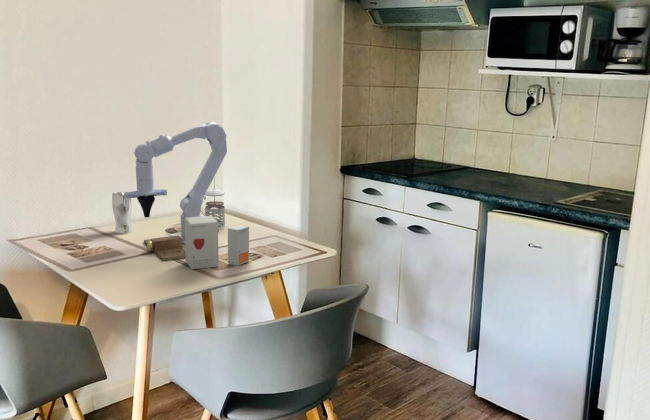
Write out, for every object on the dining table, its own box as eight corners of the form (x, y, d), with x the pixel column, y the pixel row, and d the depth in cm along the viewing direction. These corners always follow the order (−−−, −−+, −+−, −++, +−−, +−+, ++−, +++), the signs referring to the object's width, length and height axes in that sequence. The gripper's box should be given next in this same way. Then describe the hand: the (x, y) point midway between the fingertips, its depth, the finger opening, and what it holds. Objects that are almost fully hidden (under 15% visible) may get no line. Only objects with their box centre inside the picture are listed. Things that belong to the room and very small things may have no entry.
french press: (225, 230, 232) (224, 167, 226) (195, 229, 232) (193, 166, 227) (229, 224, 242) (228, 163, 236) (201, 223, 242) (199, 162, 236)
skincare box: (237, 266, 190) (237, 230, 187) (227, 263, 192) (227, 228, 189) (249, 261, 195) (249, 226, 192) (239, 259, 197) (239, 224, 194)
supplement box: (190, 270, 185) (189, 223, 182) (185, 261, 193) (183, 217, 190) (219, 267, 189) (218, 221, 185) (212, 258, 197) (211, 215, 193)
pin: (176, 246, 209) (176, 236, 209) (180, 248, 206) (179, 238, 206) (147, 250, 204) (146, 239, 203) (150, 252, 201) (149, 242, 200)
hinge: (170, 239, 218) (169, 228, 217) (191, 256, 198) (191, 245, 197) (143, 242, 213) (143, 231, 212) (163, 260, 193) (162, 249, 193)
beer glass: (136, 231, 228) (134, 193, 224) (122, 235, 222) (119, 196, 219) (124, 228, 231) (122, 190, 228) (109, 232, 226) (107, 193, 222)
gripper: (126, 182, 200) (128, 221, 203) (168, 179, 207) (170, 217, 210) (121, 179, 206) (123, 217, 209) (163, 176, 213) (164, 212, 216)
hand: (146, 216), depth 210 cm, fingers closed
